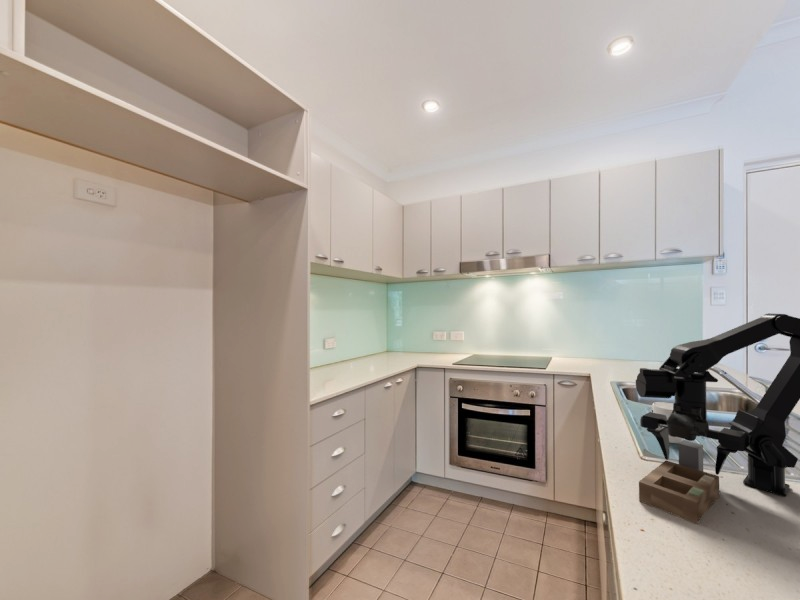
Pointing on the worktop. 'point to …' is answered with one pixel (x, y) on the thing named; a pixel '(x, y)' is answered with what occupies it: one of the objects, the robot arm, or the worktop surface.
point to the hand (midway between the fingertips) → (691, 466)
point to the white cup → (666, 410)
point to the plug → (691, 455)
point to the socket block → (679, 490)
